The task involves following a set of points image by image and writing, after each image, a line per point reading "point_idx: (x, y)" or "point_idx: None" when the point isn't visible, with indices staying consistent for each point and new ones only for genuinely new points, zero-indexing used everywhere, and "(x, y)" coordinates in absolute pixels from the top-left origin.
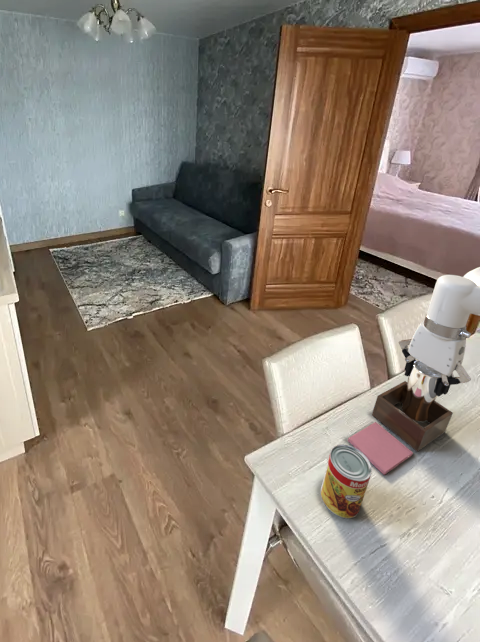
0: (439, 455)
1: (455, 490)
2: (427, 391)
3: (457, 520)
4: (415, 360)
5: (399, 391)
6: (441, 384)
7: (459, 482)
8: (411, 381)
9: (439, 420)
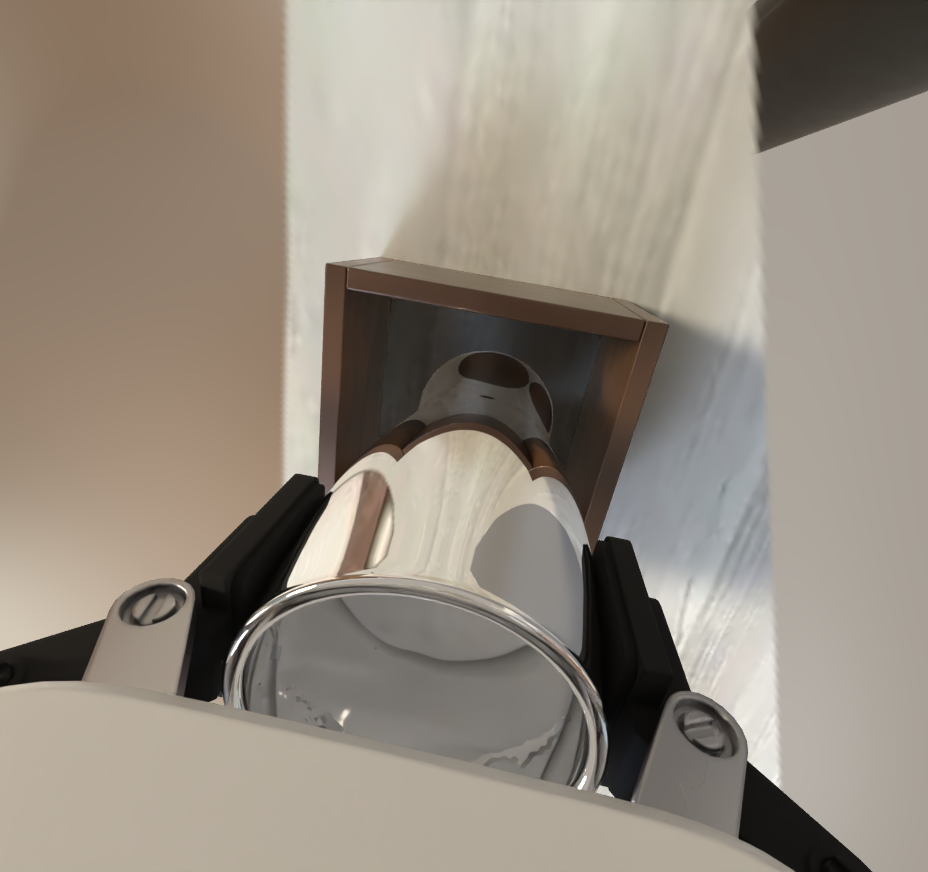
0: (637, 464)
1: (713, 571)
2: (512, 658)
3: (731, 659)
4: (215, 631)
5: (358, 342)
6: (606, 775)
7: (722, 530)
8: (377, 647)
9: (614, 466)
